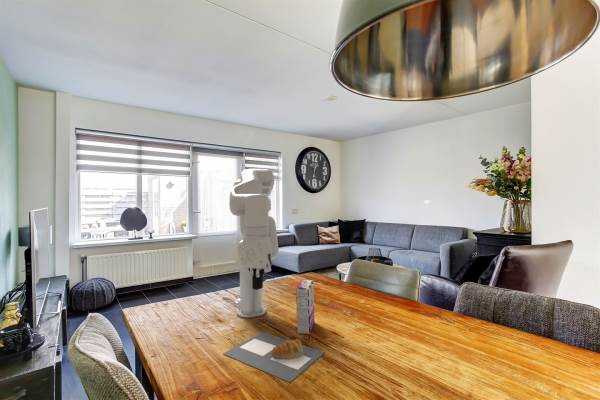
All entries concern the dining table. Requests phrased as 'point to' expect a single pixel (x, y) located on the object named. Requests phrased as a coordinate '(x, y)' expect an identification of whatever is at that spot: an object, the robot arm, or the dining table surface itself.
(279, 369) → the label mat
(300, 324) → the candy bar box
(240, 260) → the robot arm
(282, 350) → the pastry
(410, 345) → the dining table surface
